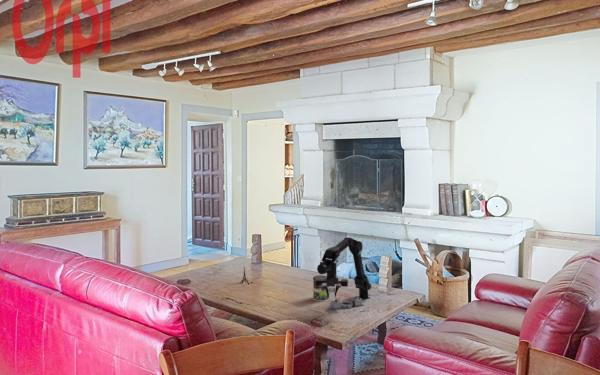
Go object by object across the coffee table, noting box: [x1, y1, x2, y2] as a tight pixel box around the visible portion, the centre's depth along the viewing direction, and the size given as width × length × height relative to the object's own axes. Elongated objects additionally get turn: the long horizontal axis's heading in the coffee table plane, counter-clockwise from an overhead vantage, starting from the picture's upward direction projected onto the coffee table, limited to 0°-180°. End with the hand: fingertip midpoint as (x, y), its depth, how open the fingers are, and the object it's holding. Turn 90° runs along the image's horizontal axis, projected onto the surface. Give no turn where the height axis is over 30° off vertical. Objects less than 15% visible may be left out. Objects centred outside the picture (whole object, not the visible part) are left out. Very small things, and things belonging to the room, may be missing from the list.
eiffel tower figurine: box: [240, 266, 249, 285], centre depth 332 cm, size 15×10×13 cm
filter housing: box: [328, 297, 365, 311], centre depth 278 cm, size 8×21×4 cm, turn 112°
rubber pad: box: [325, 309, 339, 315], centre depth 268 cm, size 6×6×1 cm
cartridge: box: [328, 287, 336, 302], centre depth 268 cm, size 4×4×7 cm
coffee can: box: [312, 274, 330, 302], centre depth 293 cm, size 10×10×14 cm
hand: (331, 296), depth 268 cm, fingers closed on cartridge, 4 cm apart
